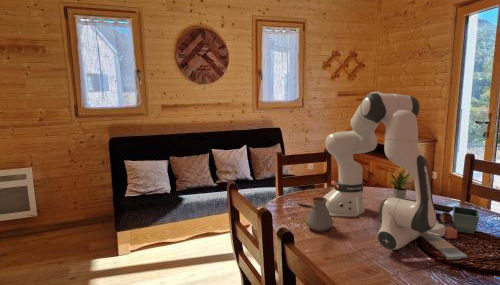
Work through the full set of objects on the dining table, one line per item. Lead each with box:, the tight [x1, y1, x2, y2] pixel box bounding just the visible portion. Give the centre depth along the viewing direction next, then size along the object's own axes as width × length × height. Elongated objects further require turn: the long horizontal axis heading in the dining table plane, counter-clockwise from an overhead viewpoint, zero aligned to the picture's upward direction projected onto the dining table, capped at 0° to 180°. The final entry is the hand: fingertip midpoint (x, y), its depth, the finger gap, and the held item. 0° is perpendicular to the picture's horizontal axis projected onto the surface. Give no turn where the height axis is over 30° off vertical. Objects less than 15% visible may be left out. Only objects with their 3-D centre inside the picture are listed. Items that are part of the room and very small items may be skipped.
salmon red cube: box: [442, 226, 458, 239], centre depth 132 cm, size 4×4×4 cm
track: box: [419, 234, 468, 261], centre depth 128 cm, size 7×24×1 cm, turn 4°
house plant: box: [388, 170, 413, 200], centre depth 174 cm, size 14×14×16 cm
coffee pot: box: [295, 196, 334, 232], centre depth 140 cm, size 21×12×15 cm, turn 135°
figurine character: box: [433, 202, 454, 224], centre depth 149 cm, size 7×8×15 cm
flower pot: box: [452, 205, 480, 235], centre depth 136 cm, size 9×9×9 cm
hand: (424, 218), depth 136 cm, fingers open, 8 cm apart
